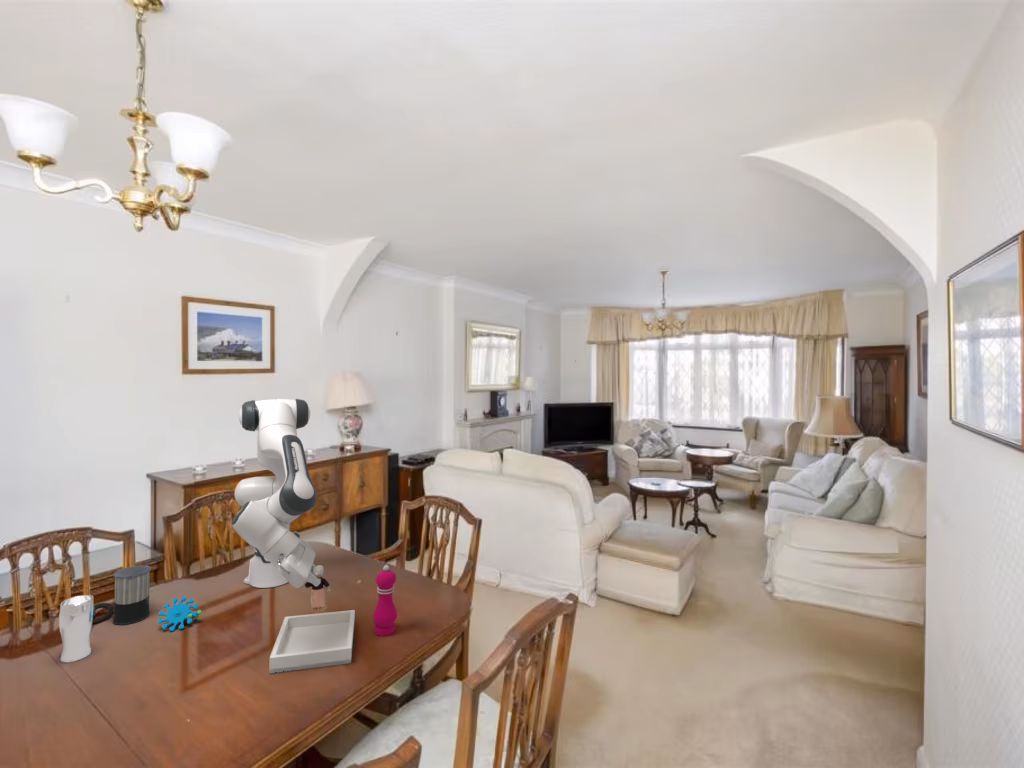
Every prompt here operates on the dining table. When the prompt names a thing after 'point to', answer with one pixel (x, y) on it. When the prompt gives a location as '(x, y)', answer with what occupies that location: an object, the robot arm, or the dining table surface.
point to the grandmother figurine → (318, 590)
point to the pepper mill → (385, 603)
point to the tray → (313, 641)
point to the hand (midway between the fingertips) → (319, 580)
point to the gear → (178, 613)
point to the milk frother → (128, 596)
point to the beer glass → (76, 627)
